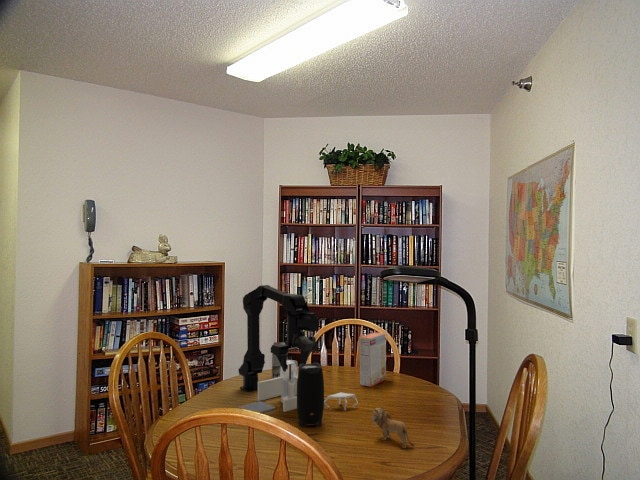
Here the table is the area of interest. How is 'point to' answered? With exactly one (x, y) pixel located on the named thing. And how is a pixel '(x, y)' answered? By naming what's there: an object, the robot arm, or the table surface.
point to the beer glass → (289, 380)
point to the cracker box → (372, 359)
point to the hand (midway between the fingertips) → (294, 369)
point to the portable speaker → (310, 394)
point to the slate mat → (258, 407)
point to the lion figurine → (390, 426)
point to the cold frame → (275, 393)
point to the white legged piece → (341, 396)
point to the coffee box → (276, 363)
